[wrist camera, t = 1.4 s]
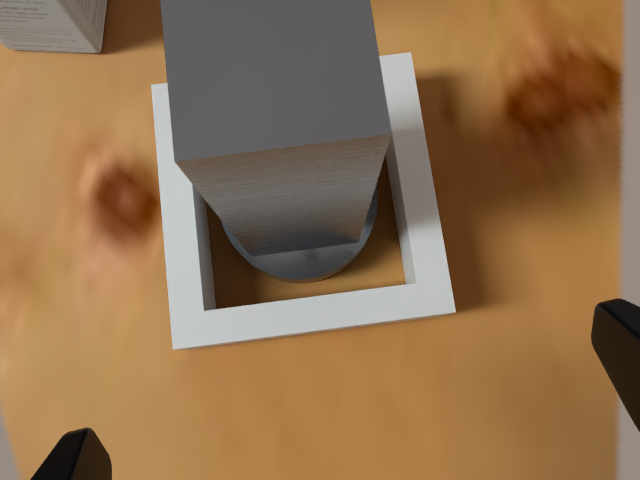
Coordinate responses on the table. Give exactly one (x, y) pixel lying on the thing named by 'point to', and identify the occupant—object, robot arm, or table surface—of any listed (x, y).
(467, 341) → the table surface
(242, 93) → the end cover
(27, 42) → the skincare box
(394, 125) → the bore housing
